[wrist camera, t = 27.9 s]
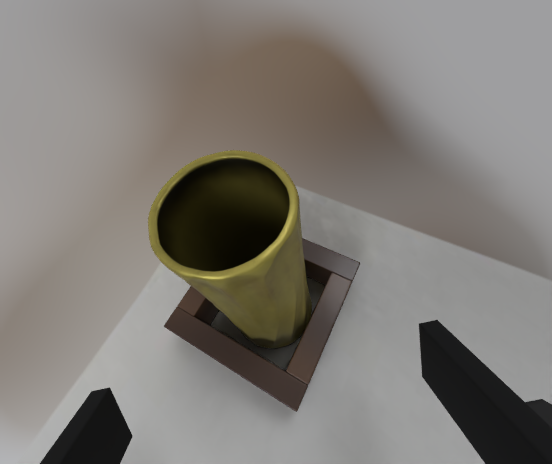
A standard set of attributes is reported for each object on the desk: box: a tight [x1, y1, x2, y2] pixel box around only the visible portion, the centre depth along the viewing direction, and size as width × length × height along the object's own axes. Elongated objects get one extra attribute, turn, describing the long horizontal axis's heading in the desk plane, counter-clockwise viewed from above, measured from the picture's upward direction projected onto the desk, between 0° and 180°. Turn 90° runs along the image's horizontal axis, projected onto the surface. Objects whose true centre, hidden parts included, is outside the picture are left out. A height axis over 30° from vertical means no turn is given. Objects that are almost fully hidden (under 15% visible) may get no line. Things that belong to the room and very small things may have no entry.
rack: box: [164, 238, 360, 412], centre depth 20 cm, size 10×10×4 cm
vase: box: [148, 151, 312, 349], centre depth 15 cm, size 6×6×14 cm
